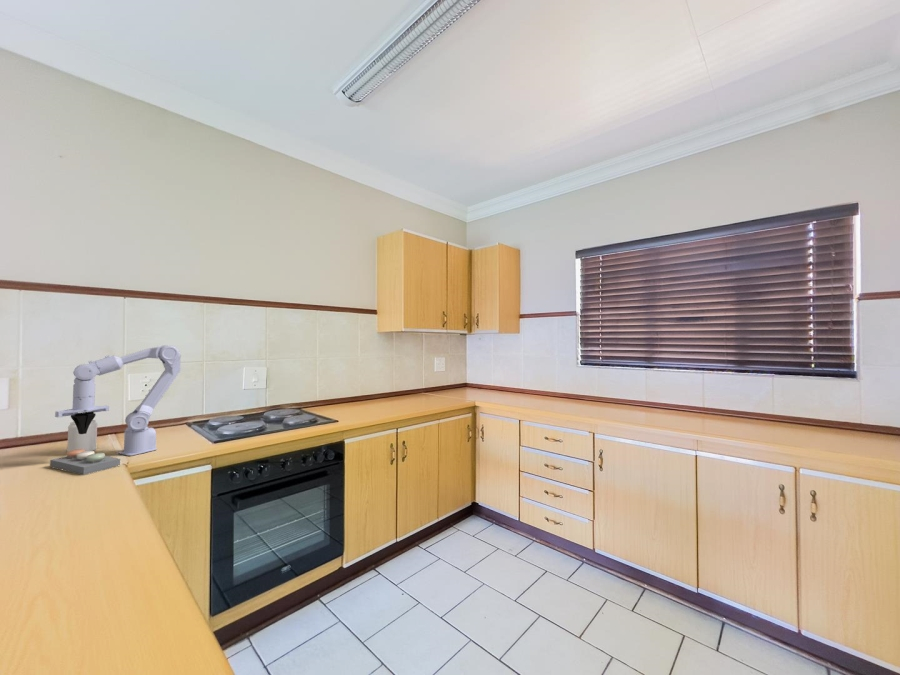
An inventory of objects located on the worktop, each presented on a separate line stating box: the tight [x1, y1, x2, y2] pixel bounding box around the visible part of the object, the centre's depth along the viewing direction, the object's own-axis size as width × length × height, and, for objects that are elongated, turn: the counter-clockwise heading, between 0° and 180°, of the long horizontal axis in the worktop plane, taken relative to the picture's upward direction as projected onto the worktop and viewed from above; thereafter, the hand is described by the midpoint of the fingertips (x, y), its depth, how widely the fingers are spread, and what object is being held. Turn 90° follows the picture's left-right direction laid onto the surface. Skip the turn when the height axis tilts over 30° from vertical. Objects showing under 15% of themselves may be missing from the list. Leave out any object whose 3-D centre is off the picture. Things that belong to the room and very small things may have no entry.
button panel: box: [49, 455, 121, 476], centre depth 128 cm, size 20×10×2 cm, turn 69°
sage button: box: [87, 452, 106, 464], centre depth 126 cm, size 4×4×4 cm
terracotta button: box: [66, 449, 85, 459], centre depth 130 cm, size 4×4×4 cm
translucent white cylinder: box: [66, 419, 98, 453], centre depth 144 cm, size 8×8×12 cm
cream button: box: [77, 450, 96, 461], centre depth 128 cm, size 4×4×4 cm
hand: (82, 433), depth 134 cm, fingers closed
